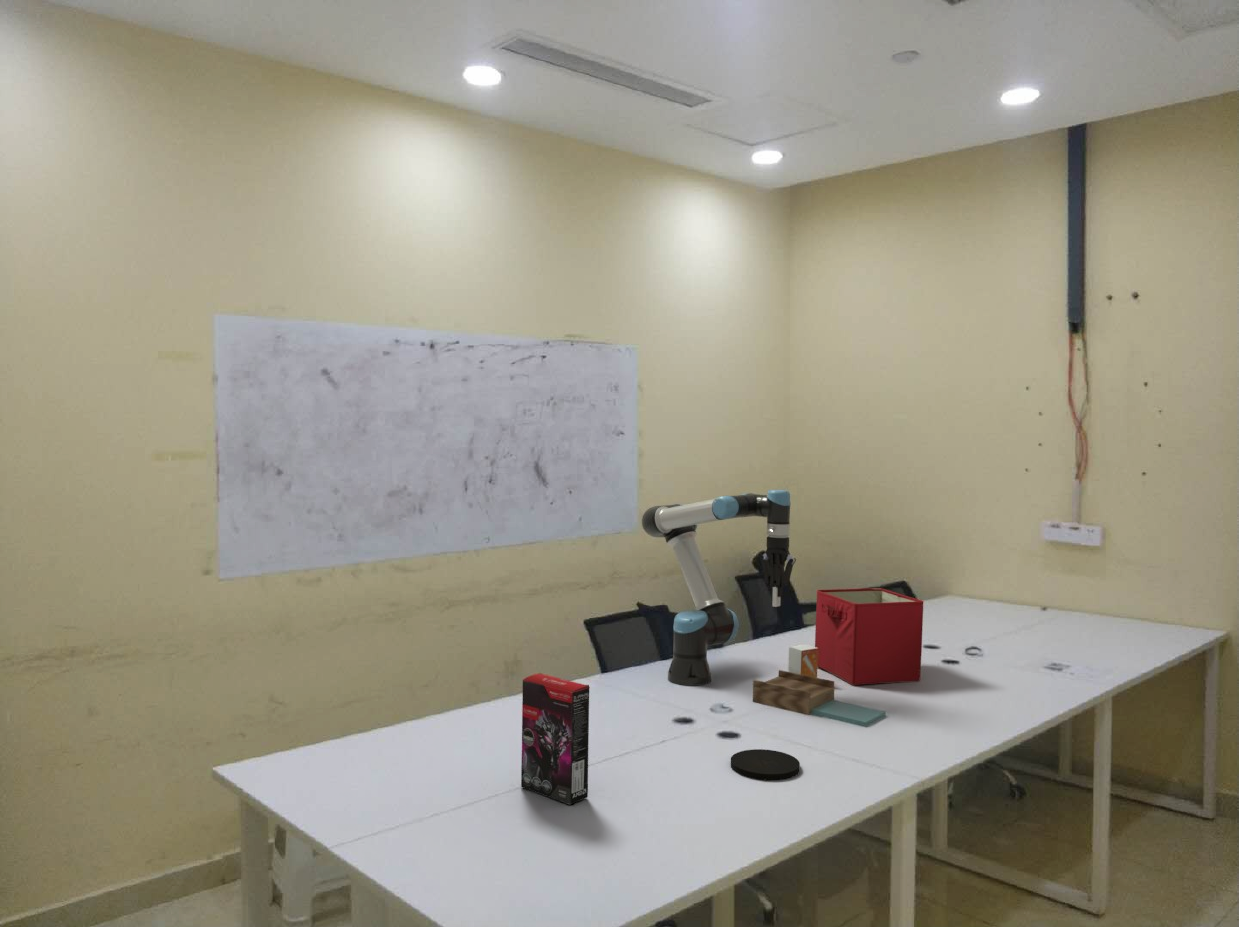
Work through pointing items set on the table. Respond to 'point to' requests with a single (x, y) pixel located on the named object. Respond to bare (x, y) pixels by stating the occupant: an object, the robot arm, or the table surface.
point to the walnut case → (793, 692)
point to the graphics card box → (555, 737)
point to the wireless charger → (765, 765)
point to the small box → (803, 660)
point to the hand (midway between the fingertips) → (776, 605)
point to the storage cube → (869, 635)
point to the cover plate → (848, 713)
